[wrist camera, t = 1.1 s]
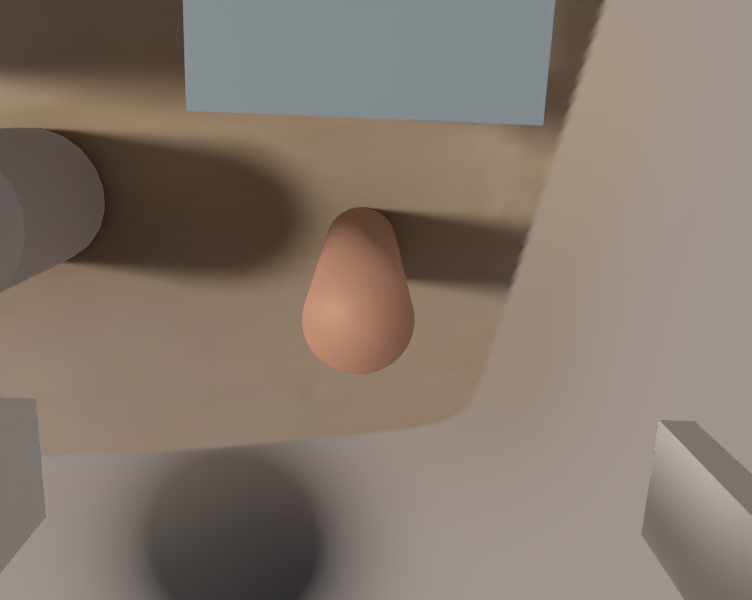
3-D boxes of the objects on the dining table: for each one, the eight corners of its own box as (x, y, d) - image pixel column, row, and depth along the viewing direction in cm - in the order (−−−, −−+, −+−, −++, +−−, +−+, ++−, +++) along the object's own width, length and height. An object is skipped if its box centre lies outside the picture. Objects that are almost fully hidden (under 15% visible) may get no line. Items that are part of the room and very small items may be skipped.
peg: (327, 206, 40) (302, 264, 24) (397, 208, 40) (417, 268, 24) (326, 274, 41) (301, 371, 25) (394, 277, 41) (411, 375, 25)
